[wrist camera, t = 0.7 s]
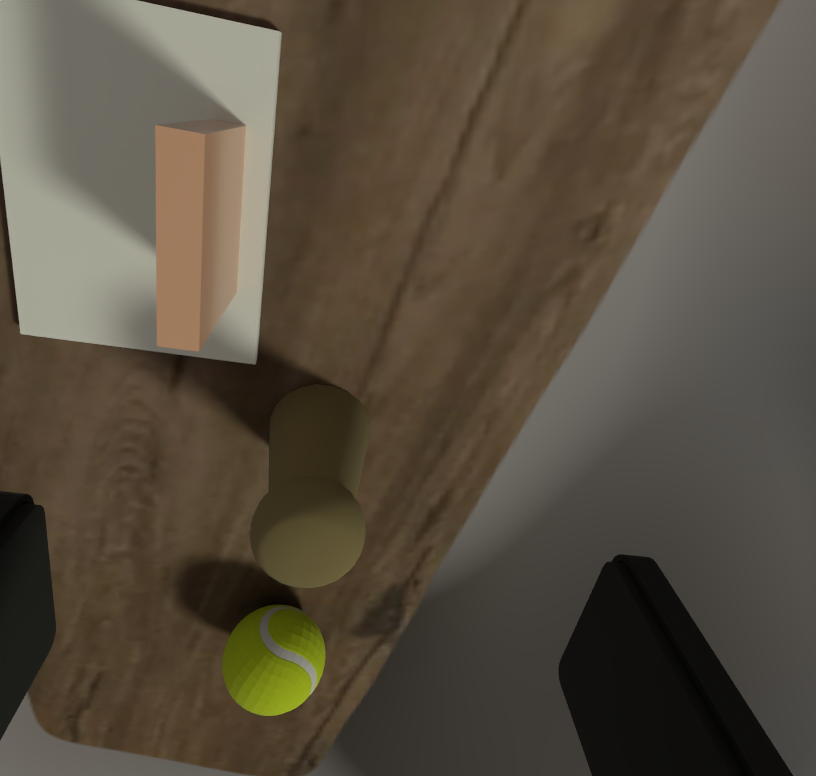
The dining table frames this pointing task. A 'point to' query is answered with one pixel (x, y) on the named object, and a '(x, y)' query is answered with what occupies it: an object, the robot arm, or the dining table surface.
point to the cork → (312, 488)
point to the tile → (196, 227)
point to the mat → (122, 159)
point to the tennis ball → (273, 660)
